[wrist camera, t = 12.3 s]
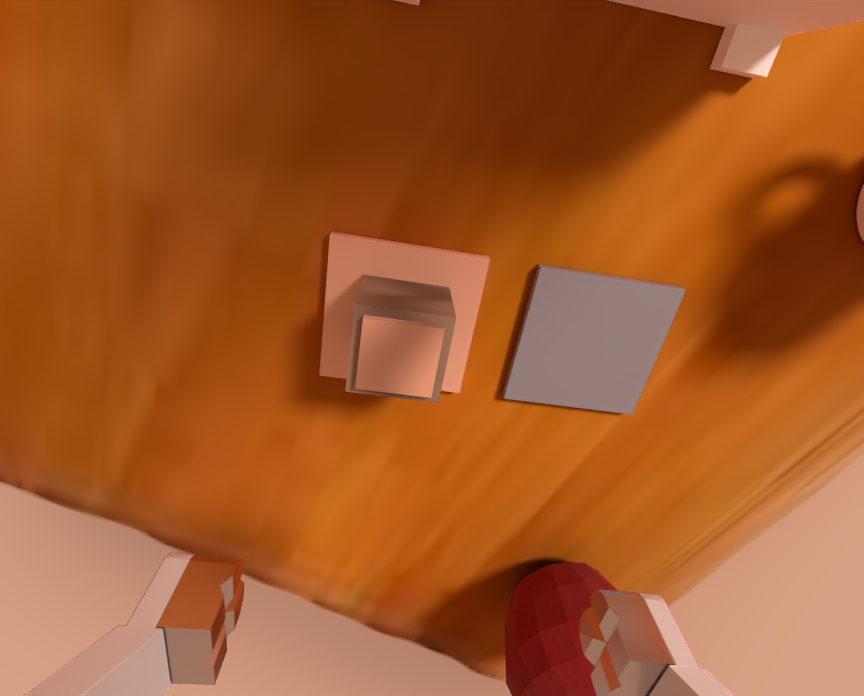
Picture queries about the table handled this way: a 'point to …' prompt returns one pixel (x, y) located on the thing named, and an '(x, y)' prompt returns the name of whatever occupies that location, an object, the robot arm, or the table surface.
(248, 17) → the table surface
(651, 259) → the table surface
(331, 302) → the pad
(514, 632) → the apple
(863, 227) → the teacup with lid
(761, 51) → the screen
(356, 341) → the cube with pink top
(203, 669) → the robot arm
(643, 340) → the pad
